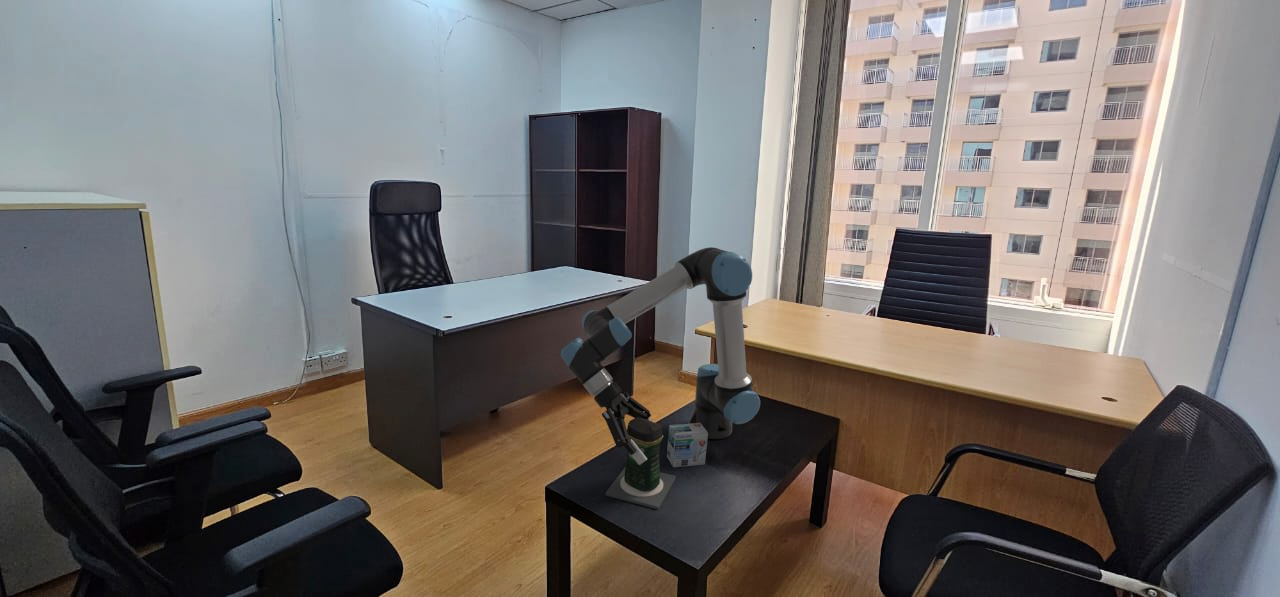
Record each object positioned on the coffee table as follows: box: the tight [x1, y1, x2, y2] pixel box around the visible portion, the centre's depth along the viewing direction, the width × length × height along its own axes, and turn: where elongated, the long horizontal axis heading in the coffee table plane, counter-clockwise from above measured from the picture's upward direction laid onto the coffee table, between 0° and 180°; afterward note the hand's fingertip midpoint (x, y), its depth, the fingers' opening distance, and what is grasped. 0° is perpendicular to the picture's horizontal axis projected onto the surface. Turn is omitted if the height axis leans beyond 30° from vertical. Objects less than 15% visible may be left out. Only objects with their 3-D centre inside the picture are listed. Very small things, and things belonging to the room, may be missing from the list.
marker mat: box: [605, 466, 677, 510], centre depth 147 cm, size 16×15×1 cm
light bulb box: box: [666, 423, 708, 468], centre depth 161 cm, size 11×7×11 cm, turn 105°
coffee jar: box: [624, 417, 664, 492], centre depth 145 cm, size 10×8×19 cm
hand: (651, 450), depth 144 cm, fingers open, 13 cm apart
